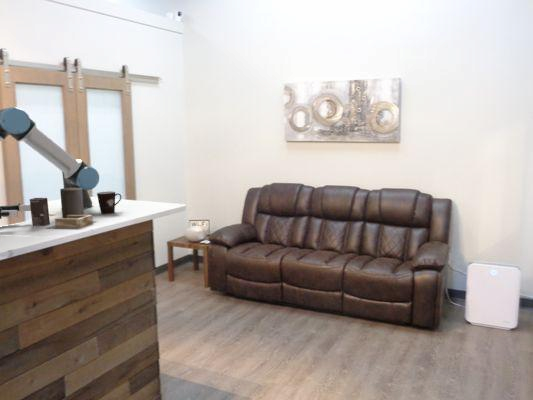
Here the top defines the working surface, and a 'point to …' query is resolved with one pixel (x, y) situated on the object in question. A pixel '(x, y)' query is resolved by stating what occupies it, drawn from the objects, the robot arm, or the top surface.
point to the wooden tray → (74, 221)
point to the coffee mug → (107, 202)
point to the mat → (66, 227)
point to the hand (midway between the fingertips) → (25, 210)
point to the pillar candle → (71, 201)
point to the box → (39, 211)
